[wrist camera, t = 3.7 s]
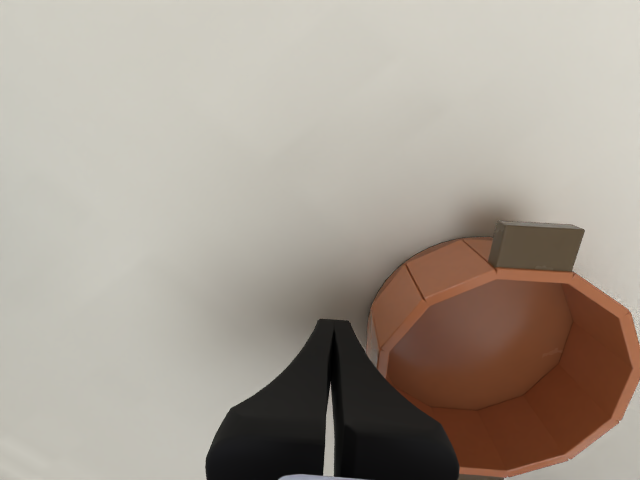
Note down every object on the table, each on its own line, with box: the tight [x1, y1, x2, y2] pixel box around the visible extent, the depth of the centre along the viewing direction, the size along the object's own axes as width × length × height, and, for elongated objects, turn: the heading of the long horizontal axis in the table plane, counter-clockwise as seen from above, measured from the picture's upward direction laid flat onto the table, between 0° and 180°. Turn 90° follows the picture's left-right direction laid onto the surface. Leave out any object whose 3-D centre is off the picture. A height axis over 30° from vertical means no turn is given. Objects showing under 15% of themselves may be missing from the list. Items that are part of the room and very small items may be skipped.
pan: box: [366, 221, 640, 480], centre depth 13 cm, size 9×12×4 cm
